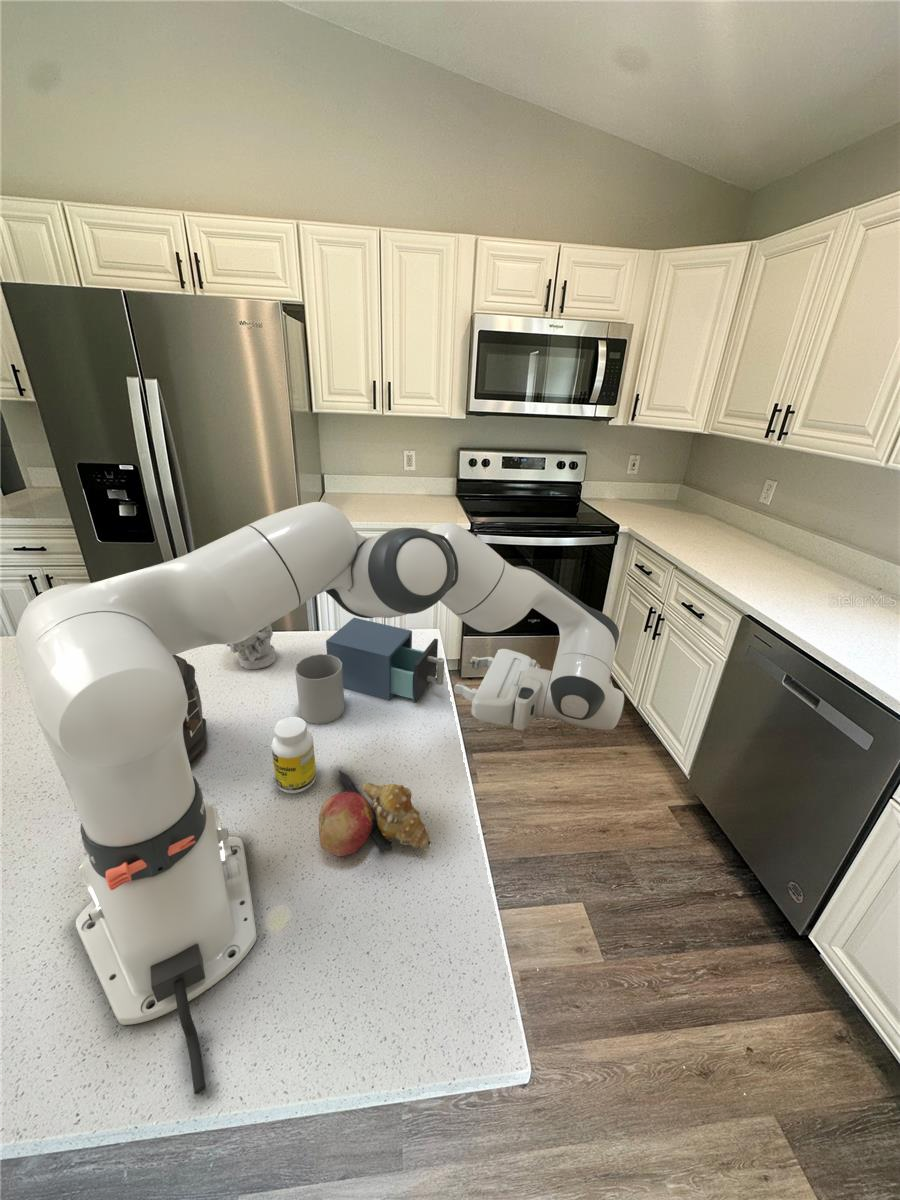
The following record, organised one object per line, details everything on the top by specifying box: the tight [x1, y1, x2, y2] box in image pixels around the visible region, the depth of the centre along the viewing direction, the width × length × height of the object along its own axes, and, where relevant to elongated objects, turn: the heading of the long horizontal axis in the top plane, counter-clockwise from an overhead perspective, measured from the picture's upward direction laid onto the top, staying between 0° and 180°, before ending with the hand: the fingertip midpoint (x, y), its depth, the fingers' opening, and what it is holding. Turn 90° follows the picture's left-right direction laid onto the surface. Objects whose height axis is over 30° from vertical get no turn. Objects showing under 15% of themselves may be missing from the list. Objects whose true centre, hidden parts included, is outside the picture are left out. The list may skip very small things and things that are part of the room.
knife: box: [338, 769, 393, 852], centre depth 74 cm, size 18×1×3 cm
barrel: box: [173, 654, 207, 765], centre depth 79 cm, size 18×18×16 cm
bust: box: [226, 623, 277, 670], centre depth 106 cm, size 11×10×15 cm
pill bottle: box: [270, 716, 317, 794], centre depth 76 cm, size 6×6×11 cm
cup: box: [294, 653, 345, 725], centre depth 92 cm, size 8×8×10 cm
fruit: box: [318, 791, 375, 857], centre depth 68 cm, size 8×8×8 cm
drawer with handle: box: [391, 638, 445, 704], centre depth 100 cm, size 17×11×9 cm, turn 70°
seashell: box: [362, 781, 431, 851], centre depth 70 cm, size 9×8×10 cm
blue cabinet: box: [325, 617, 413, 701], centre depth 103 cm, size 14×11×10 cm
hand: (463, 673), depth 96 cm, fingers open, 8 cm apart
